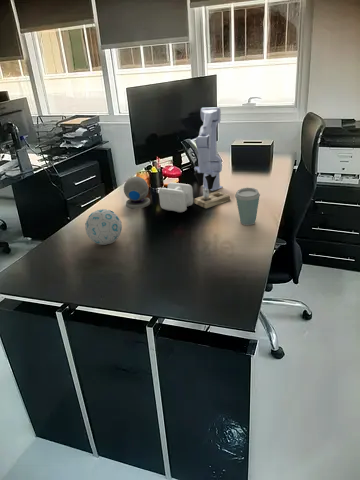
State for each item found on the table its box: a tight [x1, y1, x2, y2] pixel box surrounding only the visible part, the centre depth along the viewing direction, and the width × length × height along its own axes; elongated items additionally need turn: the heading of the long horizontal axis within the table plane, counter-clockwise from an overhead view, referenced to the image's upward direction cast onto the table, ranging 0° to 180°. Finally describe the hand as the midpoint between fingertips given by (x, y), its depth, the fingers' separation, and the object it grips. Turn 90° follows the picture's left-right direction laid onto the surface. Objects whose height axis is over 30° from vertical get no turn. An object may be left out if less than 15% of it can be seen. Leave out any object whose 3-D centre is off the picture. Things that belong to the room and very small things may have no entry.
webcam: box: [123, 176, 151, 209], centre depth 190 cm, size 13×13×15 cm
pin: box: [202, 187, 210, 201], centre depth 185 cm, size 3×3×8 cm
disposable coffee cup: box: [234, 187, 261, 226], centre depth 160 cm, size 11×11×15 cm
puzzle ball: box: [85, 208, 123, 246], centre depth 153 cm, size 15×15×15 cm
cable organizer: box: [158, 181, 194, 213], centre depth 182 cm, size 15×11×12 cm
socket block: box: [193, 190, 231, 209], centre depth 188 cm, size 10×16×2 cm, turn 125°
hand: (205, 187), depth 183 cm, fingers open, 7 cm apart
